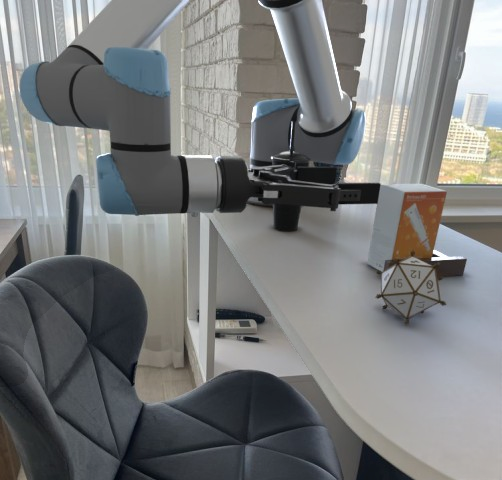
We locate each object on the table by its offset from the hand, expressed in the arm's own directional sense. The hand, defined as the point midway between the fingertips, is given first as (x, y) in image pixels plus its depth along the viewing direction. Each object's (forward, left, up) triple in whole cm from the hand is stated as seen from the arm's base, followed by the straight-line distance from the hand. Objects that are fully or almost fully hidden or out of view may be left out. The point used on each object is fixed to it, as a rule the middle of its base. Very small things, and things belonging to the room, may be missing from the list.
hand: (355, 183), depth 75 cm
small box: (+1, +10, -14) cm, 17 cm away
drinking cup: (-26, 0, -14) cm, 29 cm away
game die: (+18, 0, -14) cm, 23 cm away
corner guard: (-3, +12, -13) cm, 18 cm away
